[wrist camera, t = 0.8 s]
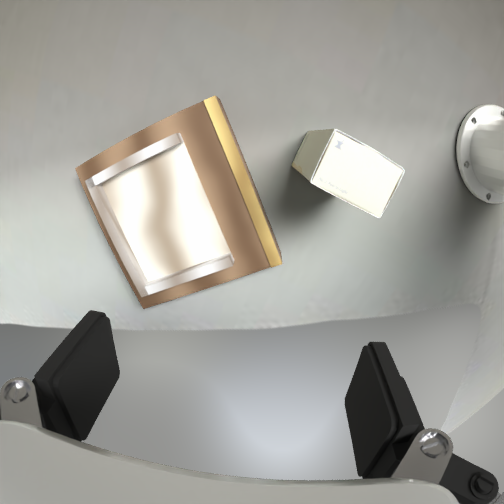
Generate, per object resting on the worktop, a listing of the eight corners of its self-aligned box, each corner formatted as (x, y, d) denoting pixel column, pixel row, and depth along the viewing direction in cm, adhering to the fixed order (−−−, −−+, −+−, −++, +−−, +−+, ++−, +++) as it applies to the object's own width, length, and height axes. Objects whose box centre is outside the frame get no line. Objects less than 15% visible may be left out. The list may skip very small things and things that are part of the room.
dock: (219, 99, 30) (213, 94, 26) (280, 252, 36) (282, 268, 32) (88, 165, 33) (67, 170, 29) (151, 297, 39) (139, 315, 35)
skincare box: (290, 165, 33) (304, 183, 21) (308, 128, 31) (332, 125, 20) (342, 192, 33) (379, 222, 22) (360, 156, 32) (407, 169, 21)
